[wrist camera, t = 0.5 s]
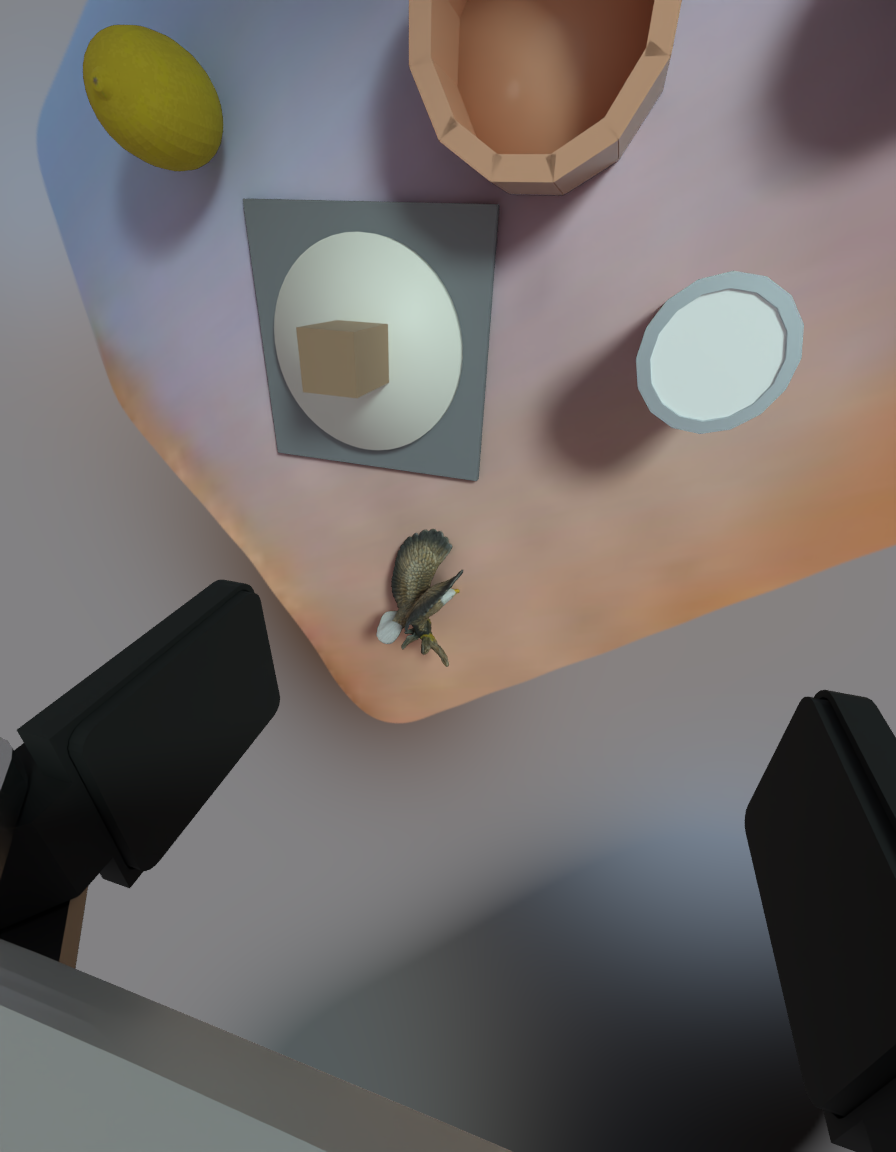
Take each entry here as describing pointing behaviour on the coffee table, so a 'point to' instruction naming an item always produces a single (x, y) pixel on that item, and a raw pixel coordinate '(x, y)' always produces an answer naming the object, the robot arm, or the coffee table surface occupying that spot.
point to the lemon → (153, 97)
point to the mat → (464, 265)
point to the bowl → (540, 82)
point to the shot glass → (719, 352)
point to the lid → (368, 340)
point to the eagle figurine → (418, 591)
